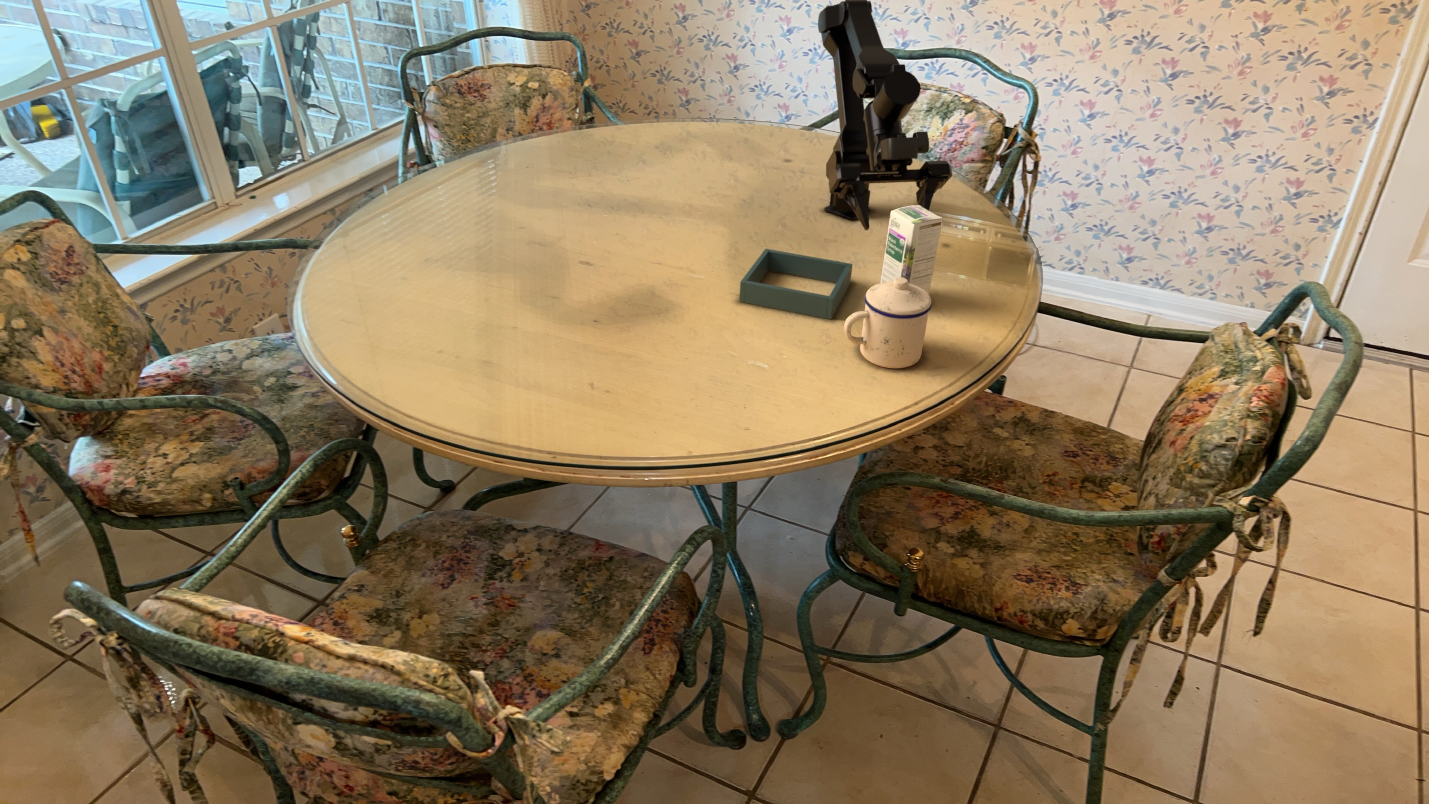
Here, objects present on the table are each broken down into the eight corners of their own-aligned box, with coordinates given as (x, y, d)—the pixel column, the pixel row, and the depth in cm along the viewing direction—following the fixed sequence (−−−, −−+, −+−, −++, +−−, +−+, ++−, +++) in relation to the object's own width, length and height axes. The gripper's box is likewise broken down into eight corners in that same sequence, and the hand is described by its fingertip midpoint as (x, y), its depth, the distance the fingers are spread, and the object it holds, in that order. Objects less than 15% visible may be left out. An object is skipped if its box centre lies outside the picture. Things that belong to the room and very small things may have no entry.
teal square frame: (764, 267, 150) (765, 248, 148) (850, 283, 146) (852, 263, 143) (739, 301, 140) (740, 281, 138) (830, 319, 136) (833, 299, 134)
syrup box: (876, 296, 142) (888, 209, 134) (906, 287, 145) (919, 202, 136) (899, 311, 138) (913, 224, 130) (929, 303, 141) (944, 216, 132)
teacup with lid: (906, 333, 133) (917, 261, 126) (933, 366, 126) (947, 292, 119) (829, 343, 130) (837, 270, 124) (853, 377, 123) (862, 302, 116)
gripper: (840, 113, 136) (851, 211, 133) (959, 110, 138) (971, 206, 136) (823, 145, 147) (833, 237, 144) (934, 142, 149) (945, 232, 147)
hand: (895, 228), depth 142 cm, fingers open, 9 cm apart
